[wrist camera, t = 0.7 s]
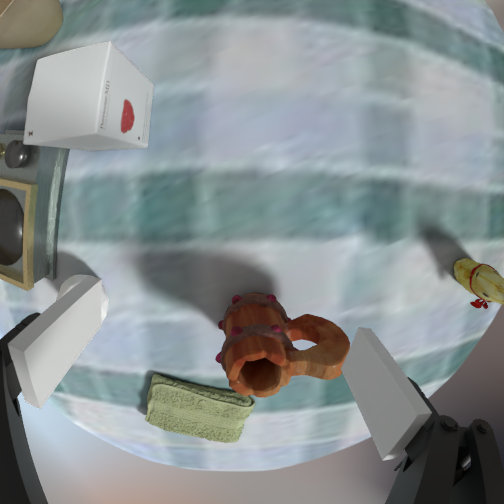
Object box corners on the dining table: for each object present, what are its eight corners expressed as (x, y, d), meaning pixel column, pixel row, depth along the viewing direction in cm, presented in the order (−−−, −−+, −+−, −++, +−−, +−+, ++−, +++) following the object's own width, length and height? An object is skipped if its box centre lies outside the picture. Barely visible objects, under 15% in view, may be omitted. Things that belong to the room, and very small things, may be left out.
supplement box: (149, 149, 34) (96, 137, 19) (89, 152, 33) (20, 147, 19) (156, 83, 31) (112, 38, 17) (96, 89, 31) (34, 58, 16)
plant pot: (4, 69, 27) (-55, 52, 12) (38, 0, 24) (-8, -32, 9) (59, 67, 29) (-6, 36, 14) (98, -10, 26) (55, -58, 10)
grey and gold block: (9, 130, 31) (-23, 127, 23) (72, 134, 32) (40, 129, 25) (-2, 255, 36) (-31, 269, 28) (56, 278, 37) (27, 297, 30)
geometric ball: (109, 278, 41) (122, 292, 35) (93, 325, 40) (104, 346, 34) (66, 260, 36) (69, 271, 30) (50, 309, 35) (52, 330, 29)
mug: (222, 339, 41) (216, 413, 26) (216, 287, 39) (205, 350, 24) (322, 330, 41) (355, 397, 27) (324, 279, 39) (366, 334, 25)
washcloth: (152, 367, 43) (147, 379, 39) (257, 392, 45) (258, 405, 41) (146, 416, 46) (142, 428, 43) (237, 437, 48) (237, 449, 45)
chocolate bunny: (456, 245, 39) (519, 274, 25) (485, 271, 41) (540, 301, 26) (437, 282, 41) (496, 321, 26) (468, 303, 42) (520, 340, 28)
